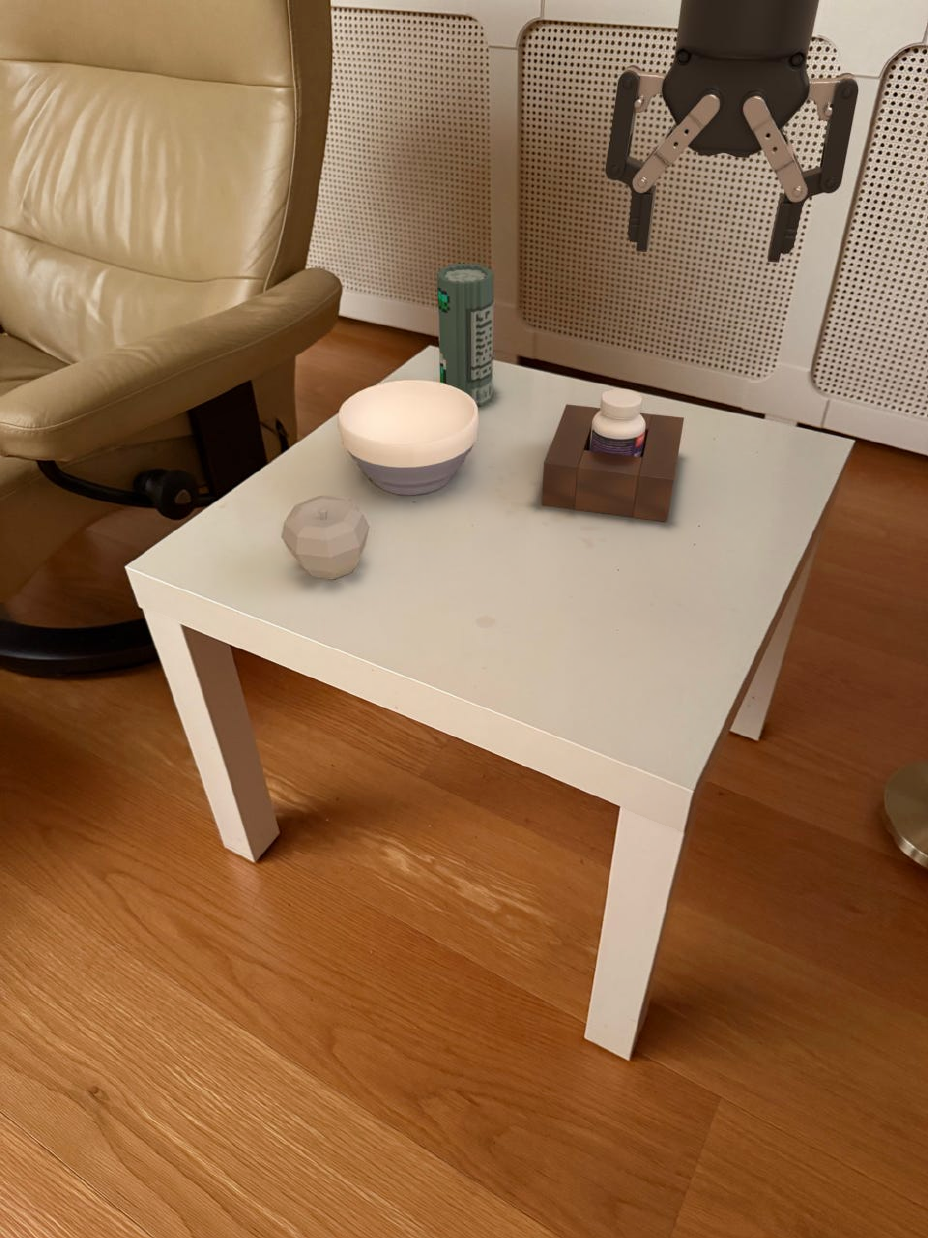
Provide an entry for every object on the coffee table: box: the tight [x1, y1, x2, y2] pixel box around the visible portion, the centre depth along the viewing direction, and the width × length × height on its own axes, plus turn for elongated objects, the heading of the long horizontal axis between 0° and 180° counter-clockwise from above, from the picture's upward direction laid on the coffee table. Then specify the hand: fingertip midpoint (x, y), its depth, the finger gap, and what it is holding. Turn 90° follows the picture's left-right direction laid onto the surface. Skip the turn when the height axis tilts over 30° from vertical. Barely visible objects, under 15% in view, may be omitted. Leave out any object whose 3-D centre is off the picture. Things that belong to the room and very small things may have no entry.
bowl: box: [337, 379, 480, 496], centre depth 92 cm, size 14×14×8 cm
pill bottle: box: [589, 388, 645, 457], centre depth 90 cm, size 5×5×10 cm
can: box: [436, 263, 495, 408], centre depth 103 cm, size 6×6×15 cm
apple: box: [281, 495, 370, 580], centre depth 80 cm, size 8×8×7 cm
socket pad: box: [541, 404, 685, 523], centre depth 92 cm, size 13×13×5 cm
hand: (707, 253), depth 59 cm, fingers open, 8 cm apart
